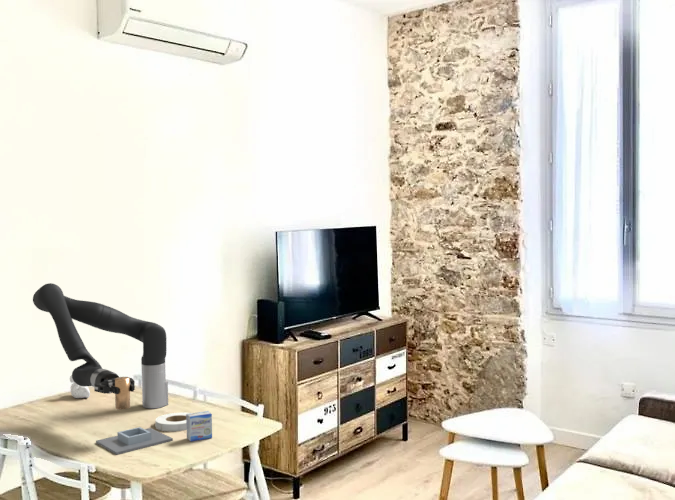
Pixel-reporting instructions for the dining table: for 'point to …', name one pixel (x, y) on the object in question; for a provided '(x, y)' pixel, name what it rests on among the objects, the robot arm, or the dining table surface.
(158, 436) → the housing
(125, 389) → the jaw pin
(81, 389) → the duck figurine
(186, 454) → the dining table surface
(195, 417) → the medicine box
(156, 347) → the robot arm
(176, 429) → the roll of tape
